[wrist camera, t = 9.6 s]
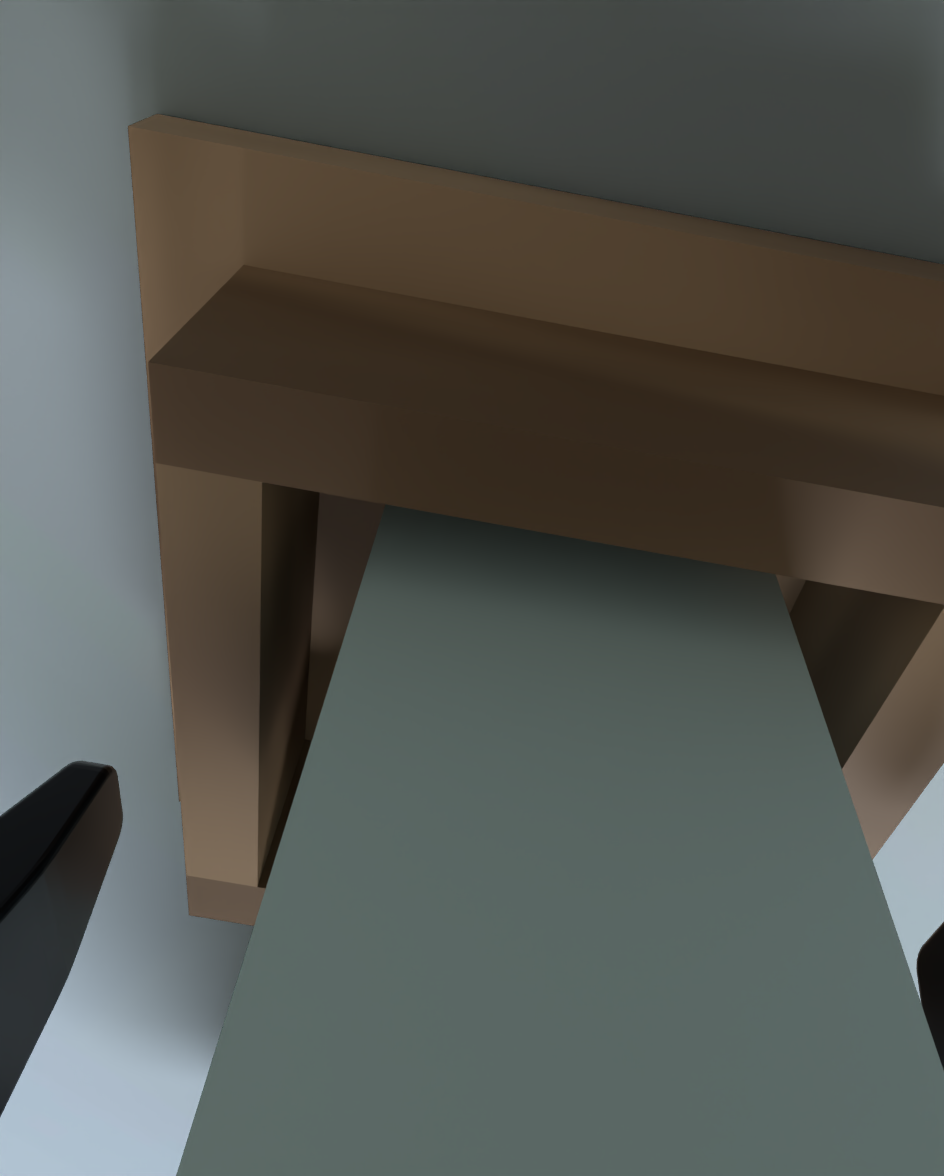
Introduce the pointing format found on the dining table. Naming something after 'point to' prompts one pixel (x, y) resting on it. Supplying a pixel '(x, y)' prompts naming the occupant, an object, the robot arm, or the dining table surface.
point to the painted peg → (569, 892)
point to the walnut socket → (514, 438)
